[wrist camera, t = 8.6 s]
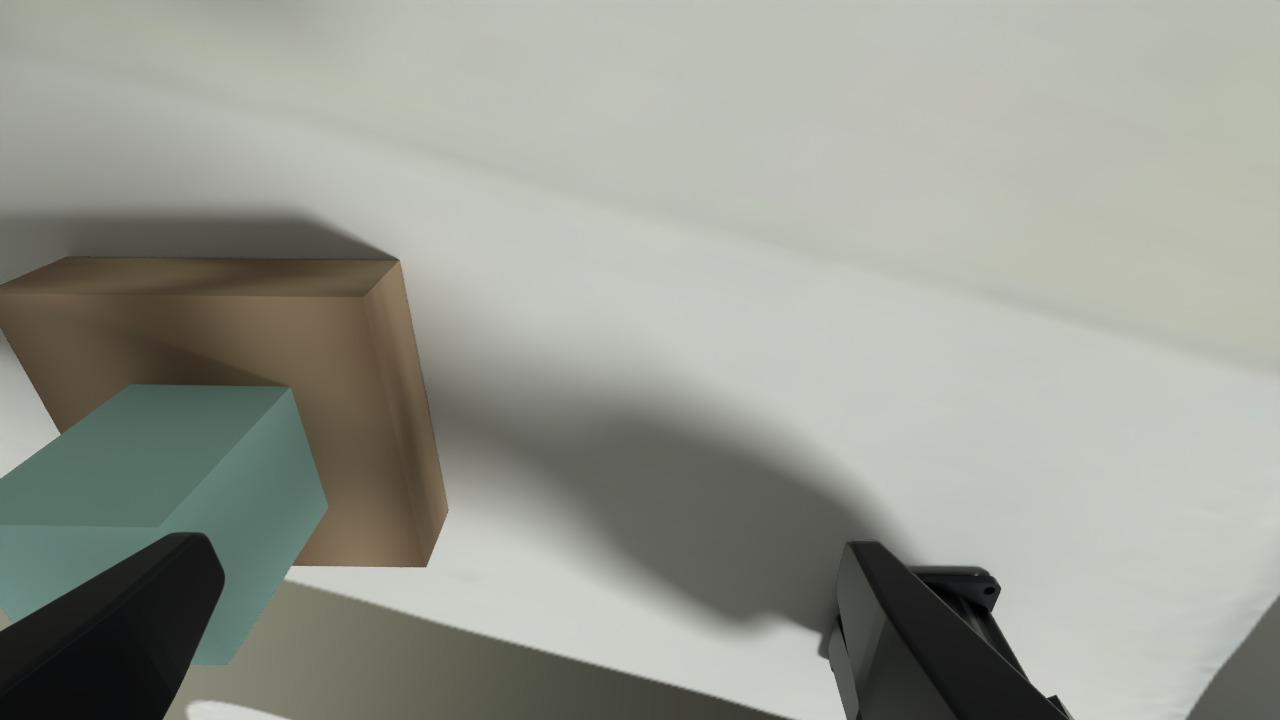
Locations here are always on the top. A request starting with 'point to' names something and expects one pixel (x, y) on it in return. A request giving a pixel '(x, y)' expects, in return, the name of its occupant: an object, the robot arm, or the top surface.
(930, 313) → the top surface
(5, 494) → the teal block
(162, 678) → the robot arm
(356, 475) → the walnut base
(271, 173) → the top surface
